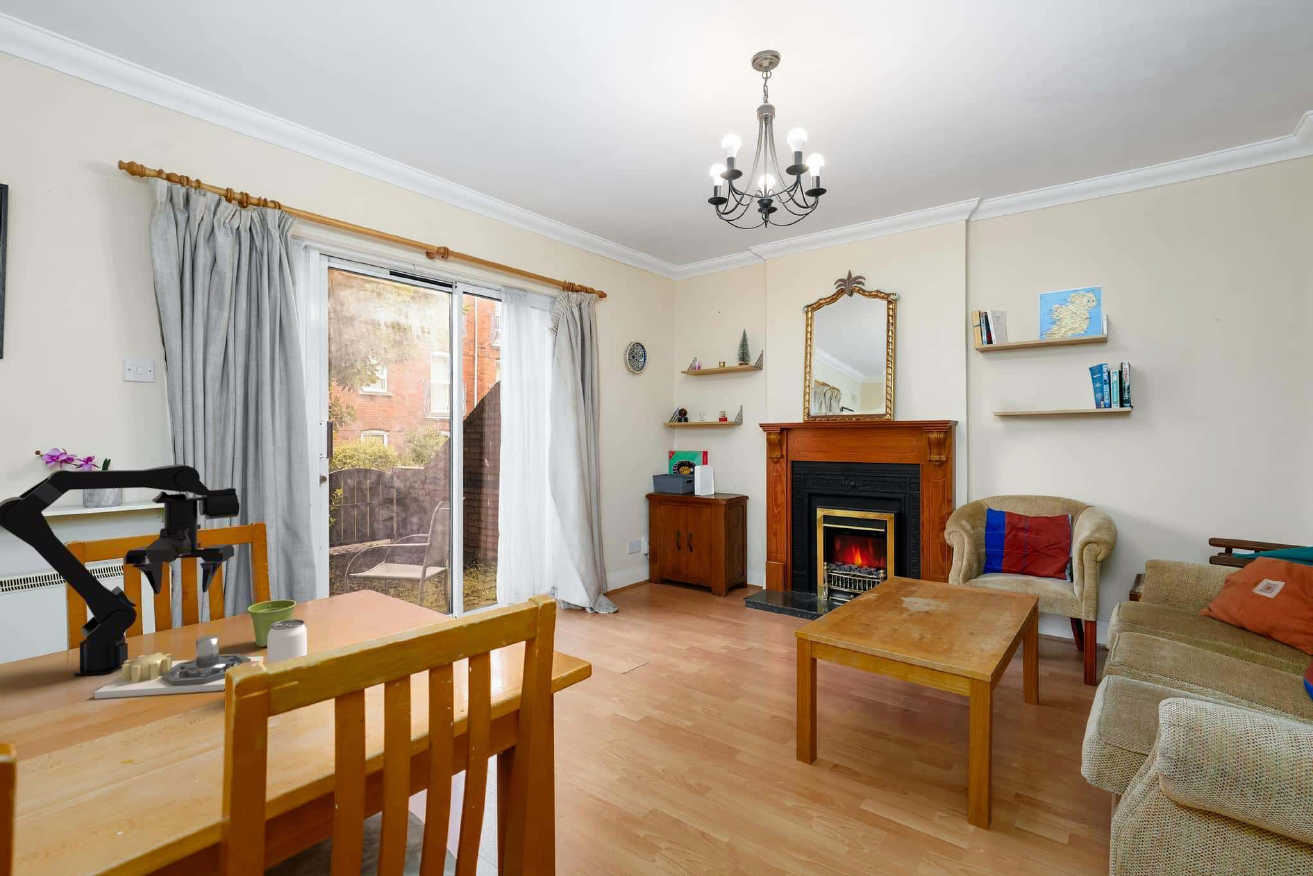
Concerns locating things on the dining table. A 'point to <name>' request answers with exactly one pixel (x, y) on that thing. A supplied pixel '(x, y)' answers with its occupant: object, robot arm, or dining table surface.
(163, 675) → the plate
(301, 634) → the can
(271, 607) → the plant pot
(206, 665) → the planet gear
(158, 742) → the dining table surface
